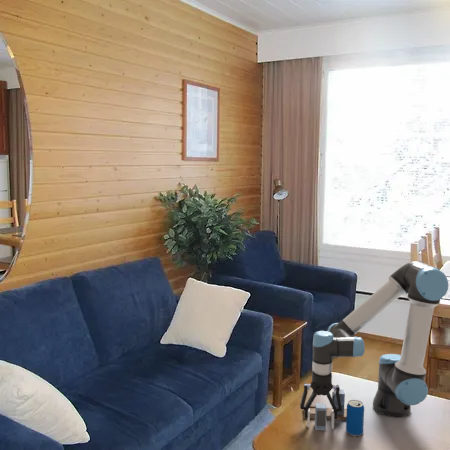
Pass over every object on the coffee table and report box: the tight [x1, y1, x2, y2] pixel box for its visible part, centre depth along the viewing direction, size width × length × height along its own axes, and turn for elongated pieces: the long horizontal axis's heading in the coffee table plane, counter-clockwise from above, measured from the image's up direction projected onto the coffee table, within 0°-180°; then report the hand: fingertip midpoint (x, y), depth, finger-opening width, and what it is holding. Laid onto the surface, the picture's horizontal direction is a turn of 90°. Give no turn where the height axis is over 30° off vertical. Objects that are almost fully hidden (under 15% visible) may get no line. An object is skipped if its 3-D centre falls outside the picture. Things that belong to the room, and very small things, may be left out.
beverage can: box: [345, 399, 365, 437], centre depth 196 cm, size 6×6×12 cm
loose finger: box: [314, 402, 328, 431], centre depth 199 cm, size 5×4×9 cm
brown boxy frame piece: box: [303, 388, 347, 422], centre depth 209 cm, size 18×7×10 cm, turn 84°
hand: (320, 426), depth 200 cm, fingers open, 9 cm apart
